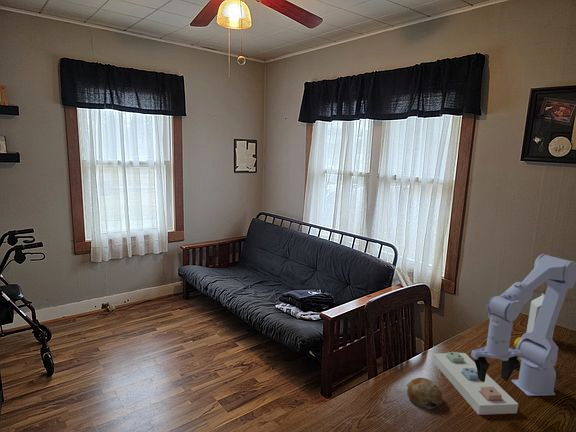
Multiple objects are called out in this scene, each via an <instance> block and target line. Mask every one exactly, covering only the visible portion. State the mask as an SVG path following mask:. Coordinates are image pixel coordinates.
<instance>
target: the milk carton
mask: <svg viewBox="0 0 576 432" xmlns="http://www.w3.org/2000/svg"><path fill="white" fill-rule="evenodd" d="M544 296H545V294H544V293H543V292H542V293H541V295H540V296H539V297H538V296H537V297H536V298H535V299H532V300H531V301H530V308H529V314H528V320H527V325H526V326H527V327H526V332H525V333H528V332H532V331H533V328H534V325H535V323H536V320H537V317H538V314H539V311H540V308H541V305H542V302H543V299H544ZM554 331H555V329H554V330H553V333H552V336H551V338H552V339H553V336H554ZM534 342H535V341H534ZM535 343H536V342H535Z"/></svg>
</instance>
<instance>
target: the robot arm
mask: <svg viewBox="0 0 576 432" xmlns="http://www.w3.org/2000/svg"><path fill="white" fill-rule="evenodd" d="M545 282H546V285H547V288H546V291H545V294H544V295H545V296H544V299H543V302H542V305H541V308H540V311H539V314H538V317H537V320H536V323H535V325H534V328H533V331H532V332H528V333H526V332H525V333H523V334H522V336H521V337H522V338H521V340H520V341H519V342H518V344H517V347H516V348H512V349H510V348H511V347H510V345H511V344H510V343H511V337H512V331H513V323H514V321H515V320H517V318H518V316H519V315H520V312H521V311H522V307H523V306H524V305H526V304H527V302H529V300H531V299H532V298H533V294H534V292H533V291H534V290H536V289H537V288H538V287H541V285H542V284H544V283H545ZM575 284H576V261H574V260H568V259H563V258H560V257H555V256H551V255H548V254H546V253H541V254H539V255H538V256H537V257H536V259H535V261H534V263H533V269H532V270H531V271H530V272H529V273H528V274H527V275H526V277H525V278H524V279H523V280H522V281H521V282H520V281H516V282H514V283H513V284H512V285H511V286H510V287H508V288H507V289H506V290H505V291H504V292H503V293H501V294H500V295H495V296H492V297H491V298H490V299H489V301H488V304H487V305H486V311H487V313H488V315H487V318H488V320H489V323H488V324H489V325H488V329H487V330H488V333H487V338H486V345H485V346H484V347H480V348H477V349H471V353H470V354H471V355H470V356H471V357H472V360H473V361H474V362H475V364H476V368H477V373H478V378H479V379H480V380H481V381H482V382H484V381H485V377H486V374H487V372H488V369H489V367H490V366H491V364H490V363H489V362H488V360H487V359H488V358H489V359H496V360H501V372H500V376H501V379H503V380H504V381H505V382H508V381H509V379H510V377H511V375H512V374H513V372H514V371H515V369H517V367H519V366H520V368H519V373H518V379H511V382H512V383H513V384H514V385H515V386H516V387H518V389H520V390H521V391H522V392H523V393H524V394H525V395H526V396H527V397H539V396H540V397H541V396H555V395H556V393H555V392H554V390H555V384H556V378H557V372H556V369H555V366H556V364H557V360H558V352H559V346H558V345H557V343H556V342H555V340H553V338H551V336H552V333H553V334H554V332H553V330H554V331H555V326H556V323H557V321H558V319H559V315H560V311H561V309H562V307H563V305H564V304H563V303H564V300H565V298H566V295H567V293H568V289H573V288H574V285H575ZM531 340H532V341H531ZM533 341H535V342H533ZM517 358H519V359H521V365H520V361H519V360H518V359H517Z"/></svg>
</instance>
